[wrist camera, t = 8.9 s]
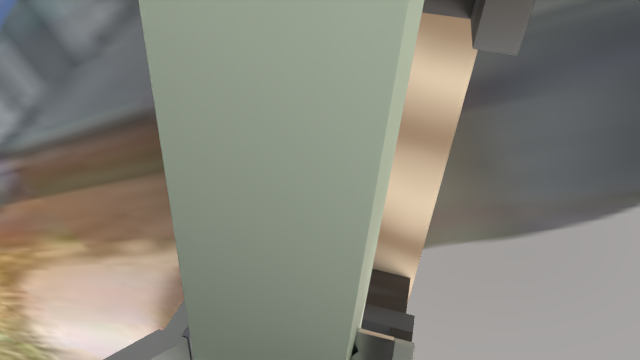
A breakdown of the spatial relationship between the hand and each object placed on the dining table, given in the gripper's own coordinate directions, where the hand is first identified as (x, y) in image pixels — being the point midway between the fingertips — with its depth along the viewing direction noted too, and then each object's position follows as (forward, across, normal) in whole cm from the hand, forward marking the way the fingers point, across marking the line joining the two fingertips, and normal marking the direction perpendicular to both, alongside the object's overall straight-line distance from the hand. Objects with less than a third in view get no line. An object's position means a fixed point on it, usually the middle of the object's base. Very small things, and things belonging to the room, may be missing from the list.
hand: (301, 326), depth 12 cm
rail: (+2, 0, 0) cm, 2 cm away
